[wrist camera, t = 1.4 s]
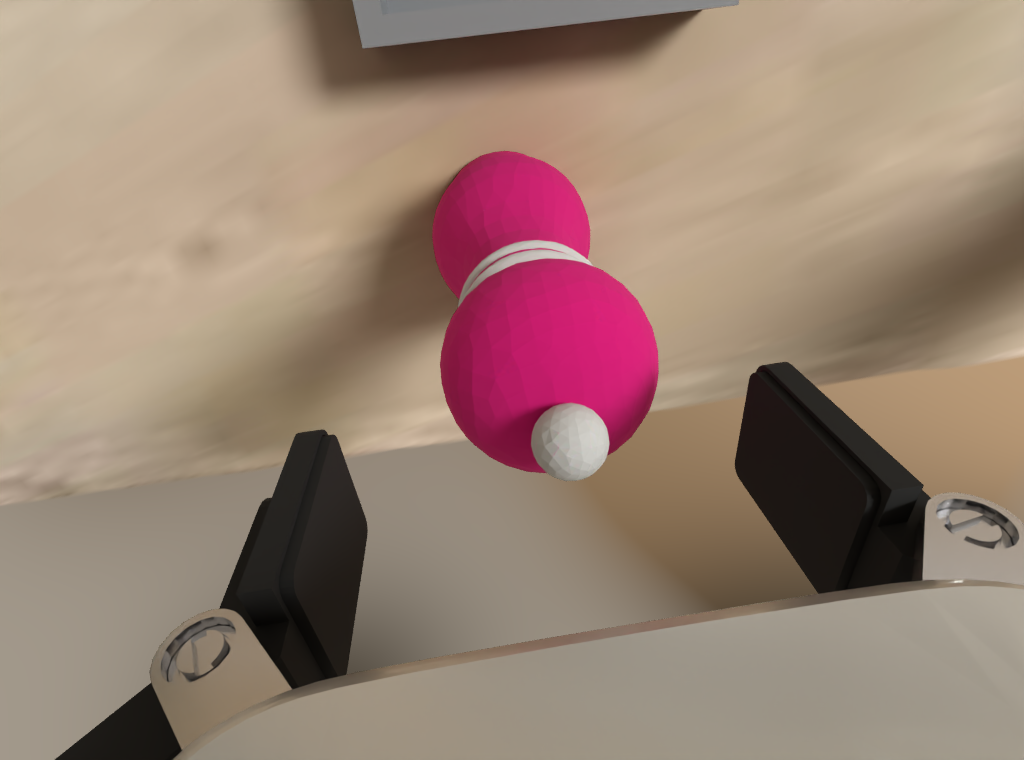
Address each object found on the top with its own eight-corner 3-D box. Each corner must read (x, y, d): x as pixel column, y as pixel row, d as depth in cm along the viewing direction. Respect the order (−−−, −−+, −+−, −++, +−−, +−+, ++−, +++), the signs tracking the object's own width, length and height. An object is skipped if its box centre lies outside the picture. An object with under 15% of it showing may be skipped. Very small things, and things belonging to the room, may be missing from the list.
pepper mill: (577, 264, 30) (733, 546, 13) (452, 288, 30) (450, 599, 13) (563, 126, 26) (759, 280, 9) (419, 154, 26) (358, 356, 9)
